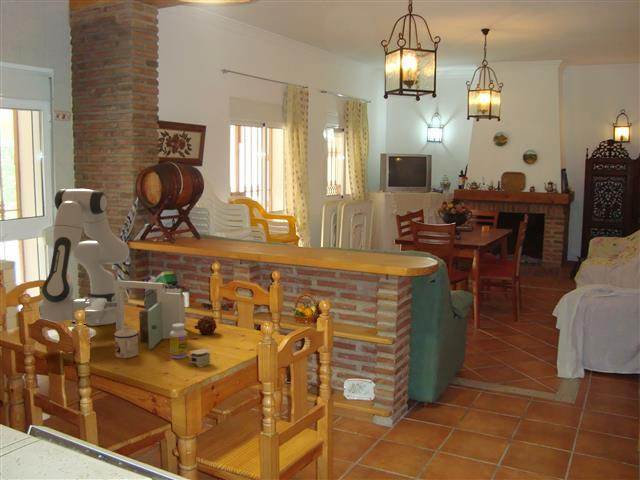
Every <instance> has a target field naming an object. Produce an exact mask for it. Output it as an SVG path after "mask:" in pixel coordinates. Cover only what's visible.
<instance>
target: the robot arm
mask: <svg viewBox="0 0 640 480" xmlns="http://www.w3.org/2000/svg"><path fill="white" fill-rule="evenodd" d="M54 206H55V208H56V210H57V212H56V215H55V219H54V226H53V227H54V228H53V250H52V251H53V253H52V257H51V258H52V259H51V264H50V265H51V266H50V270H49V274H48V276H47V278H46V279H45V281H44V282H43V284H42V289H41V290H42V295H43V299H42V300H41V302H39V304H38V313H39V315H40V318H41V319H42V320H43V319H48V320H51V321H54V323H55V322H56V323H58V322H60V323H61V322H65V321H70V322H71V321H73V322H75V321H76V320H75V317H74V312H76V311H77V310H80V309H82V310H85V322H86V324H88V325H87V326H91V327H94V326H95V327H96V326H102V325H110V324H114V323H115V324H116V308H115V307H117V306H118V303H117V302H115V287H114V281H116V277H115V275H114V274H113V273H112V272H111V271H109V270H107V269H106V268H104V266H103V264H108V265H109V264H111V265H115V264H121V263H124V262H126V261H127V260H128V258H129V257H130V253H131V252H130V246H128V244H127V243H126V241H124V240H122V239H120V238H119V237H117V235H115V234H114V232H113V231H112V229H111V227H110V223H109V219H108V215H107V207H108V198H107V195H106V194H105V193H104V192H103V191H100V190H97V189H96V190H95V189H94V190H93V189H88V188H62V189H59V190H58V191H57V192H56V193H55V196H54ZM83 232H84V234H85V236H87V237H88V238H90V240H84V241H81V239H82V234H83ZM71 255H72V256H73V258H74V259H75V261H76V262H78V264H79V265H81V266H82V267H83V268H84V269H85V271H86V272H87V275H88V278H89V284H90V292H89V293H87V294H86V295H85V296H84V297H82V298H77V299H75V298H73V293H74V285H73V283H72V282H71V280H69V279H68V278H67V276H68V275H67V274H68V268H69V265H70V264H69V262H70V257H71ZM72 298H73V299H72ZM74 324H77V323H76V322H75V323H74Z"/></svg>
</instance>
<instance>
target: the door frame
mask: <svg viewBox="0 0 640 480" xmlns="http://www.w3.org/2000/svg"><path fill="white" fill-rule="evenodd" d="M114 287H115V302H117V303H118V306H117V307H115V308H116V322H115V328H116V331H115V332H117V331H120V330H121V329H123V327H124V326H125V310H124V308H125V307H124V288H127V289H128V288H130V289H145V290H146V289H154V290H157V302H161V303H162V334H163V338H162V339H167V340H168V339H169V340H170V333H171V331H173V328H172V325H173V324H177V323H182V319H181V293H166V292H165V288H166V283H165V282H151V281H150V282H149V281H137V280H136V281H135V280H123V279H117V280H116V279H115V281H114ZM162 339H161V340H162Z"/></svg>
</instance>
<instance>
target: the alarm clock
mask: <svg viewBox="0 0 640 480" xmlns="http://www.w3.org/2000/svg"><path fill="white" fill-rule="evenodd" d="M166 289H167V288H166V287H165V292H166ZM144 295H145V297H144V299H143V305H144V310H149V309H150V308H151V307H153V306H154V305H155V304H156V303H157V289H145V290H144Z"/></svg>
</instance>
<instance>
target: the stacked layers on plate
mask: <svg viewBox="0 0 640 480" xmlns="http://www.w3.org/2000/svg"><path fill="white" fill-rule="evenodd" d="M210 352H211V350H210V349H207V348H201V349H200V348H199V349H193V350H190V351H189V353H190V354H189V357H190V360H189V362H190V363H193V364H194V363H195V364H196V367H197V366H198V367H197V368H202V367H201V366H203V365H204V366H207V365H206V364H208V365H210V364H211V361H212V359H211V355H212V354H211V353H210ZM209 363H210V364H209ZM204 366H203V367H204Z"/></svg>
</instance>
